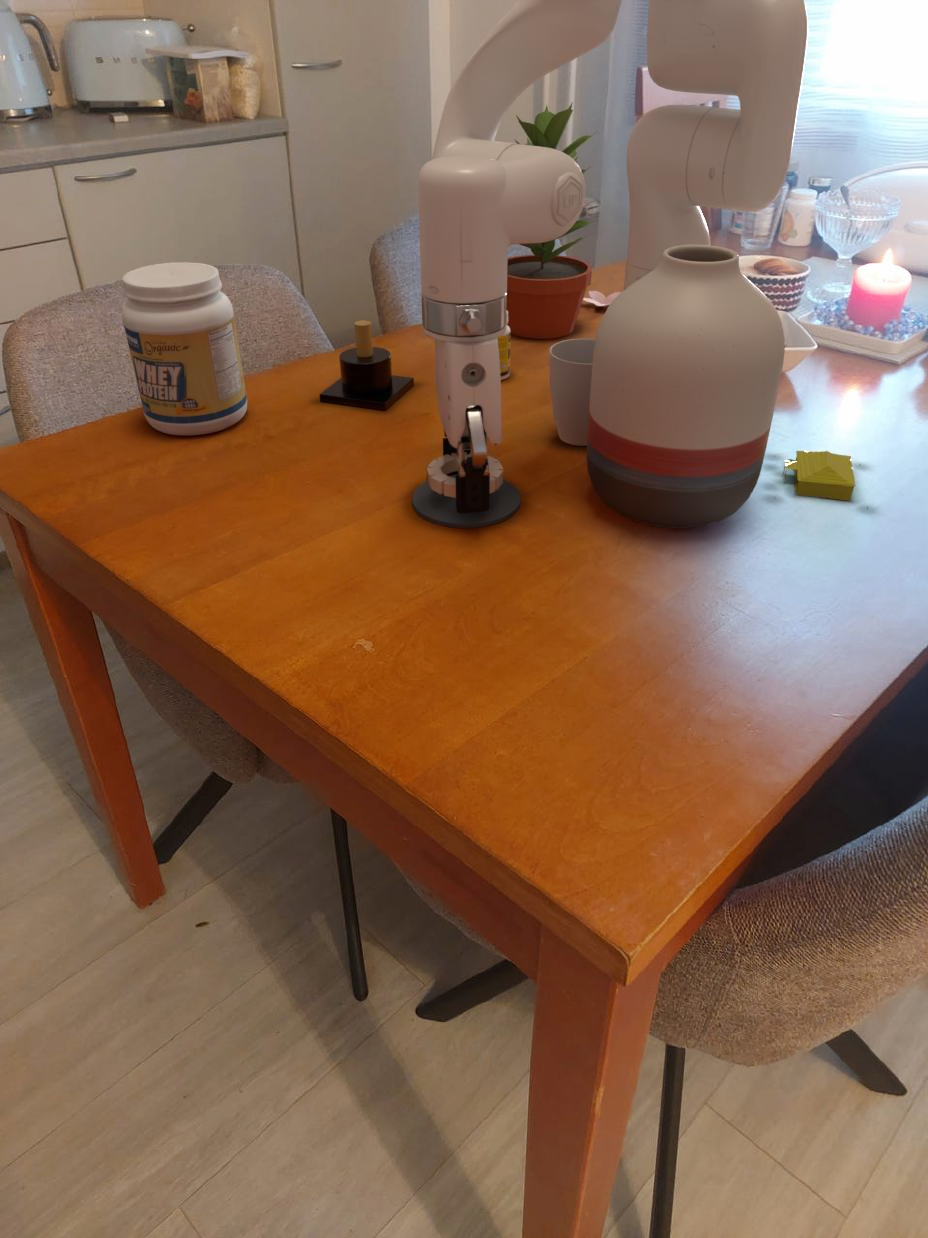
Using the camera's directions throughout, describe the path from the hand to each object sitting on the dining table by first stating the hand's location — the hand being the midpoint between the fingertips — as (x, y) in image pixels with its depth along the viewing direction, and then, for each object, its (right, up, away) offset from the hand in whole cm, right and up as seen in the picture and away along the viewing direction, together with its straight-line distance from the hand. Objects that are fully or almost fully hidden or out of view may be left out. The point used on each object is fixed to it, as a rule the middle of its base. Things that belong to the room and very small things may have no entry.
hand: (465, 490), depth 89 cm
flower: (+22, +37, +54) cm, 69 cm away
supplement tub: (-32, +11, +19) cm, 39 cm away
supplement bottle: (+4, +19, +29) cm, 35 cm away
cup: (+13, +8, +13) cm, 20 cm away
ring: (0, +1, -1) cm, 1 cm away
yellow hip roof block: (+37, +1, +3) cm, 37 cm away
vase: (+20, -1, +1) cm, 20 cm away
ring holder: (-12, +16, +25) cm, 32 cm away
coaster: (0, -1, +1) cm, 1 cm away
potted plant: (+11, +31, +45) cm, 56 cm away
